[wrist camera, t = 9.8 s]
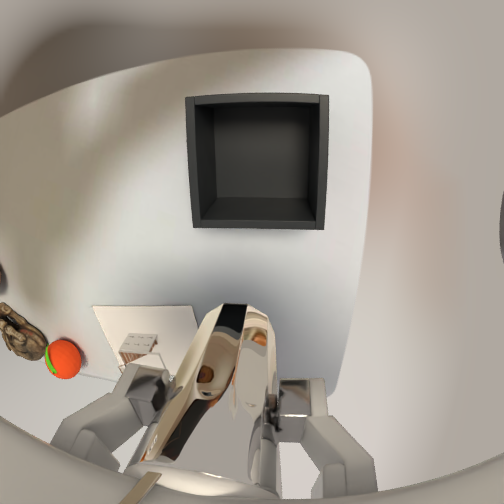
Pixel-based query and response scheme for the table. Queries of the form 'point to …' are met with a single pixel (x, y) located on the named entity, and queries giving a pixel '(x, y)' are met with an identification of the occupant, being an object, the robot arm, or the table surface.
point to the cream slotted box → (148, 334)
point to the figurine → (21, 335)
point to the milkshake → (217, 415)
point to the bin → (258, 160)
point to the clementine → (63, 359)
